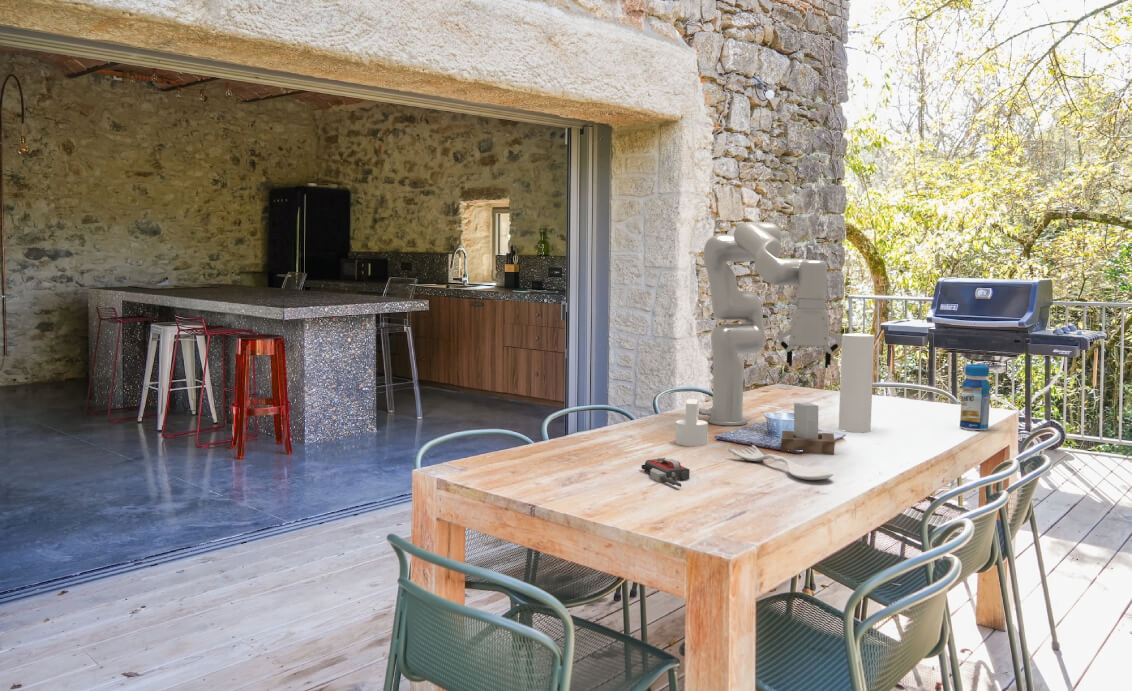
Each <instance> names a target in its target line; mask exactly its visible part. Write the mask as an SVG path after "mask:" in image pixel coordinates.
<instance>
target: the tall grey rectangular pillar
mask: <svg viewBox="0 0 1132 691" xmlns="http://www.w3.org/2000/svg"><path fill="white" fill-rule="evenodd" d="M841 336H842V337H841V338H842V341H841V354H840V356H841V360H840V384H839V386H840V387H839V412H838V413H839V414H838V430H839V429H841V430H845V431H852V432H851V433H853V432H866V433H869V432H868V431H870V432H871V427H872V426H871V425H872V403H873V400H872V399H873V382H874V381H873V380H874V379H873V378H874V354H875V334H868V333H863V332H853V333H843V334H842V335H841ZM841 430H840V431H841ZM845 431H844V432H845Z"/></svg>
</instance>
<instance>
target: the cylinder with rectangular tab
mask: <svg viewBox="0 0 1132 691" xmlns="http://www.w3.org/2000/svg"><path fill="white" fill-rule="evenodd" d="M708 424H709V422H708V421H706V420H701V419H699V398H687V400H686V403H685V419H678V420H675V441H674V442H675V444H677V445H681V446H686V447H703V446H707V445H708V429H709V428H708V427H709V426H708Z"/></svg>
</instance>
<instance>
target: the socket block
mask: <svg viewBox="0 0 1132 691" xmlns="http://www.w3.org/2000/svg"><path fill="white" fill-rule="evenodd" d="M835 443H836V442H835V434H834V433H831V432H830V433H829V432H827V433H826V432H818V439H804V438H794V430H782V433H781V439H780V452H783V453H784V452H789V453H792V452H791V451H795V450H803V452H802V453H803V454H817V455H818V454H819V455H831V456H833V455H835V445H836V444H835ZM788 450H789V451H788Z"/></svg>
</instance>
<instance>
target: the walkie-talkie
mask: <svg viewBox="0 0 1132 691" xmlns="http://www.w3.org/2000/svg"><path fill="white" fill-rule="evenodd" d="M640 468H641V469H643V470H644V472H645V473H646V474H649V475H650V479H652V480H654V481H656V482H657V483H662V482H665V483H668V484H670V485H673V486H674V485H675V486H676V487H679V488H682V483H681V482H679V481H685V480H690V472H691V471H690V469H689V468H687V467H684V465H683V466H682V465H681V462H680V461H678V460H675V459H674V458H666V457H658V458H654V459H653V458H652V459H647V460H645V462H644V464H641V465H640Z"/></svg>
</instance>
